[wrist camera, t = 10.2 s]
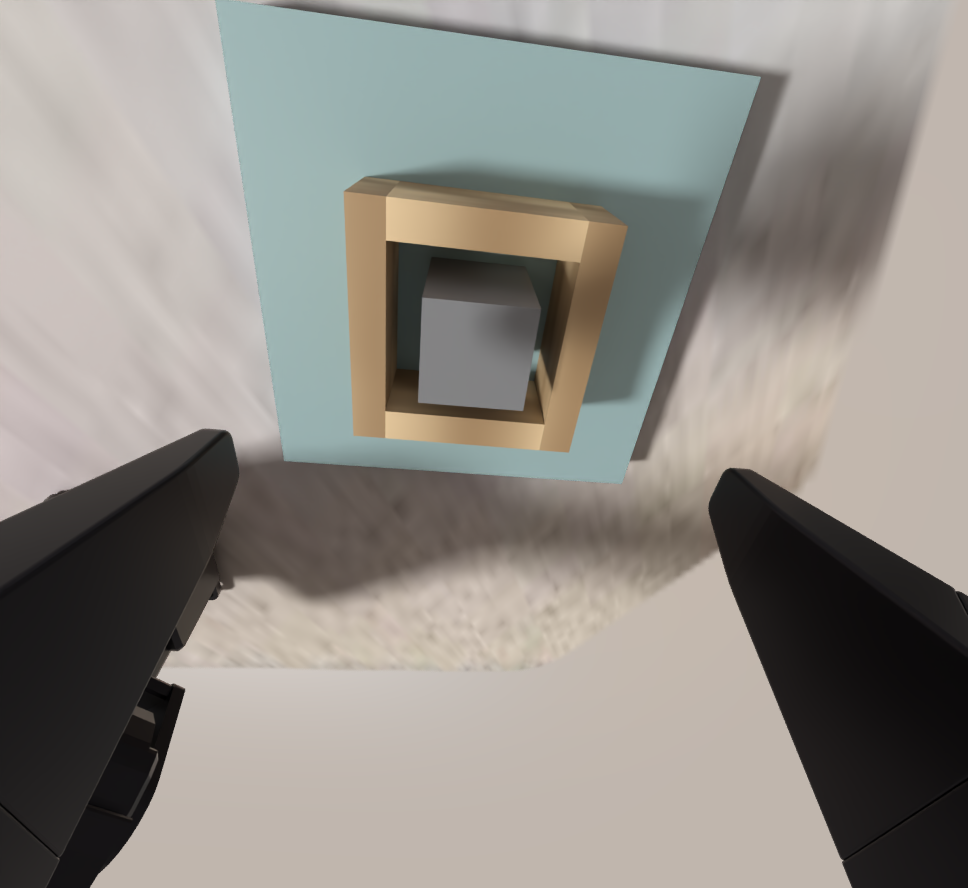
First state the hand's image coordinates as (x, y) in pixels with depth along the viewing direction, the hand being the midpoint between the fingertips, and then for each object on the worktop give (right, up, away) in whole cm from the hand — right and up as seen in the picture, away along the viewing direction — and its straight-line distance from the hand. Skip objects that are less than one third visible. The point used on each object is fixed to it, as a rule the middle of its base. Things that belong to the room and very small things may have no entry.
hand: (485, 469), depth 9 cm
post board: (0, +6, +9) cm, 11 cm away
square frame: (0, +5, +7) cm, 9 cm away
